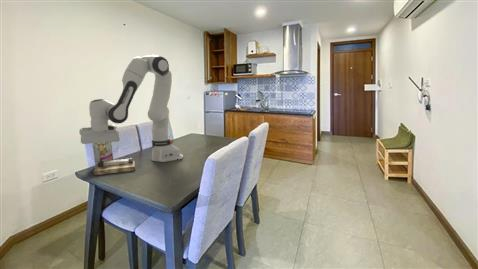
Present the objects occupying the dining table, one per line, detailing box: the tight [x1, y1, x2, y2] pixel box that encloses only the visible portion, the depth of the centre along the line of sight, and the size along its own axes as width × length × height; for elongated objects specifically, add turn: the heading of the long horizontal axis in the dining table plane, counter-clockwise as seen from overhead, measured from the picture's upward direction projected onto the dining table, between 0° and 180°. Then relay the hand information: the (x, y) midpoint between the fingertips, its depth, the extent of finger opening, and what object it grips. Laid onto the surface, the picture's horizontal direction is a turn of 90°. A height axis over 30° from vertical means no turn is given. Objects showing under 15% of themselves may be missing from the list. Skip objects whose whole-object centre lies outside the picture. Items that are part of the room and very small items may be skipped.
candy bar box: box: [91, 142, 114, 167], centre depth 155 cm, size 11×5×16 cm, turn 168°
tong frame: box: [98, 157, 134, 163], centre depth 150 cm, size 20×3×3 cm, turn 114°
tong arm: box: [98, 159, 129, 167], centre depth 149 cm, size 17×2×2 cm, turn 114°
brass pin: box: [98, 143, 106, 155], centre depth 141 cm, size 3×3×7 cm
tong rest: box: [93, 160, 136, 176], centre depth 148 cm, size 22×13×2 cm, turn 114°
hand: (102, 149), depth 141 cm, fingers closed on brass pin, 3 cm apart
